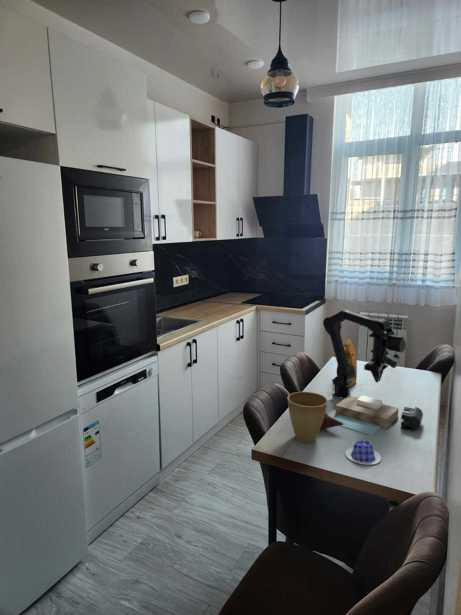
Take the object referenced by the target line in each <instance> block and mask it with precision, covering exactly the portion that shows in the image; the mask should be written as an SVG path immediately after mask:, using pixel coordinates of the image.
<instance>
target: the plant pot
mask: <svg viewBox="0 0 461 615" xmlns="http://www.w3.org/2000/svg"><path fill="white" fill-rule="evenodd" d="M287 405H288V406H287V407H288V412H289V413H288V414H289V418H290V422H291V426H292V430H293V433H294V435H295V438H296V439H297V441H300V442H302V443H312V442H315V440H316V439H317V437H318V435H319V433H320V431H321V429H320V428H321V425H322V422H323V419H324V416H325V413H326V411H327V406H328V399H327V397H326V396H325V395H323V394H320V393H316V392H312V391H311V392H310V391H297V392H293V393H290V394H288V396H287Z"/></svg>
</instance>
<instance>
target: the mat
mask: <svg viewBox="0 0 461 615" xmlns="http://www.w3.org/2000/svg"><path fill="white" fill-rule="evenodd" d="M333 419H335V420H337V421H340V422H342V423H343V425H340V426H339V427H342V428H344V429H348V430H350V431H353V432H357V433H361V434H364V435H367V436H371V437H373V436H374V435H375V434H376V433H378V431H380V429H381V428H382V427H380V426H377V425H373V424H370V423H366V422H363V421H360V420H356V419H353V418H349V417H346V416H342V415H338V414H337V416H336V417H333Z"/></svg>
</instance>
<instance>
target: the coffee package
mask: <svg viewBox="0 0 461 615" xmlns="http://www.w3.org/2000/svg"><path fill="white" fill-rule="evenodd" d="M343 346H344V350H345V354H346V357H347V361H348V363H349V364H350V365H353V366H354V370H355V372H356V373H355V377H354V379H353V380H352V381H351V383H348V384H349V387H353V386H354V385H355V384H356V383H357V378H358V377H357V376H358V375H357V374H358V362H357V360H358V359H357V352H356V349H355V346H354V345H353V343H352V341H351V339H347V340H346V344H343Z"/></svg>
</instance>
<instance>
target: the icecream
mask: <svg viewBox="0 0 461 615" xmlns="http://www.w3.org/2000/svg"><path fill="white" fill-rule="evenodd" d="M340 425H343V423H342V422H340V421H337V420H335V419H334V417H331V416H329V415H328V413H326V412H325V416H324V419H323V422H322V425H321V428H320V431H321V430H322V431H327V429H331V428H335V427H341V426H340Z"/></svg>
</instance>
